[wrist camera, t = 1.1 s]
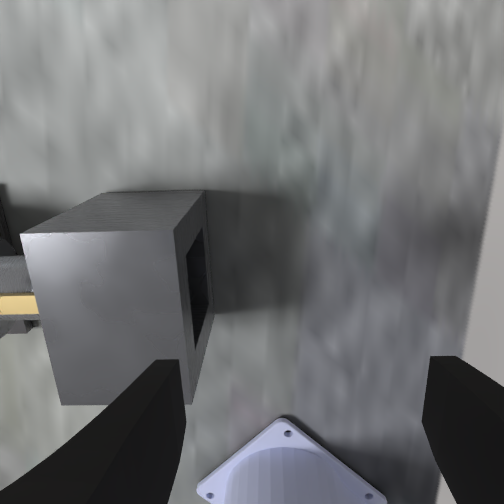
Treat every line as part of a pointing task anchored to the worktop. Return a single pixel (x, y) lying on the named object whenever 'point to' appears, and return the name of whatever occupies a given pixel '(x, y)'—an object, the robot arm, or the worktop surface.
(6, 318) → the shaft rig
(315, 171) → the worktop surface
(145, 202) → the grey housing block
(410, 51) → the worktop surface
